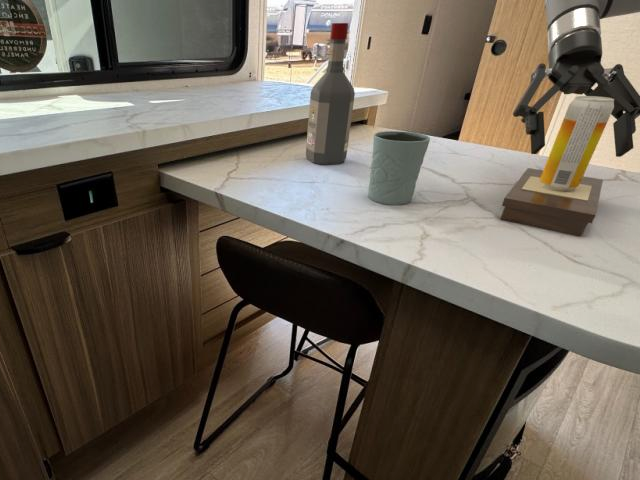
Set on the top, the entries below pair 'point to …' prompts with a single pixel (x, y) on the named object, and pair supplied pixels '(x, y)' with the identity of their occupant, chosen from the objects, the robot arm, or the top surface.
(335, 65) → the liquor
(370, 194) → the green embossed cup
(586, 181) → the brown lidded keepsake box
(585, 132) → the beer can
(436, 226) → the top surface
